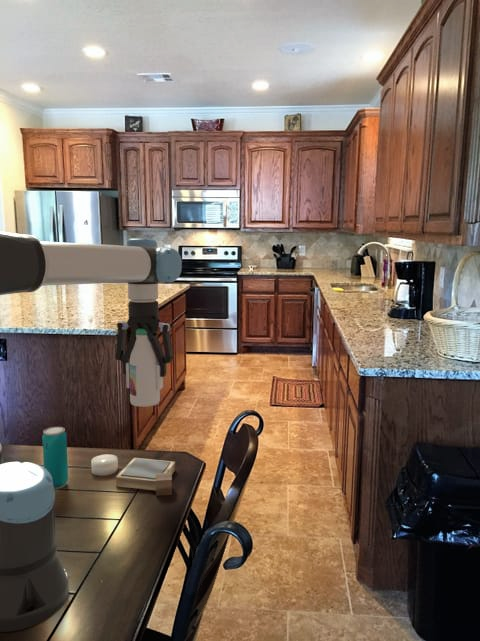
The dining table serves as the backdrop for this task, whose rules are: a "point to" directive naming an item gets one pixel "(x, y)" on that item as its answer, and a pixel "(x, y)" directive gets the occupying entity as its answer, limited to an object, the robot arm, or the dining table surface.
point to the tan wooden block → (163, 484)
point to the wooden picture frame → (143, 473)
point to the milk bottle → (143, 372)
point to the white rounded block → (104, 465)
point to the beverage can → (56, 455)
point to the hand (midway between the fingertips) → (144, 387)
